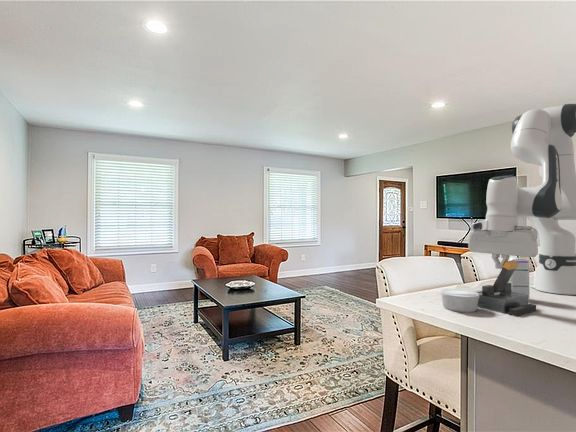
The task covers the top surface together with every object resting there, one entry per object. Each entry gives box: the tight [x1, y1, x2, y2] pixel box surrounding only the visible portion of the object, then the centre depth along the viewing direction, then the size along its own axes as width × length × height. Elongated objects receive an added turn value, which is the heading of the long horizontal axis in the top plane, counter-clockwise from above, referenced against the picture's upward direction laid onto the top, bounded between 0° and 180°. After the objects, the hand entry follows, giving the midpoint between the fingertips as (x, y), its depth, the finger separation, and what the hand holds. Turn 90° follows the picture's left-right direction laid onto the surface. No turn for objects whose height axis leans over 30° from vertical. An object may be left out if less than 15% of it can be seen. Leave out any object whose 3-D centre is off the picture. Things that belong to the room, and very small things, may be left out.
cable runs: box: [508, 303, 537, 317], centre depth 115 cm, size 13×22×2 cm, turn 31°
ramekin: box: [439, 288, 480, 313], centre depth 111 cm, size 11×11×5 cm
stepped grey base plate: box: [473, 283, 529, 314], centre depth 114 cm, size 14×12×7 cm
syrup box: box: [508, 256, 531, 302], centre depth 124 cm, size 6×6×14 cm
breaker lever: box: [493, 260, 519, 293], centre depth 112 cm, size 5×2×11 cm, turn 121°
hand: (500, 268), depth 112 cm, fingers closed
